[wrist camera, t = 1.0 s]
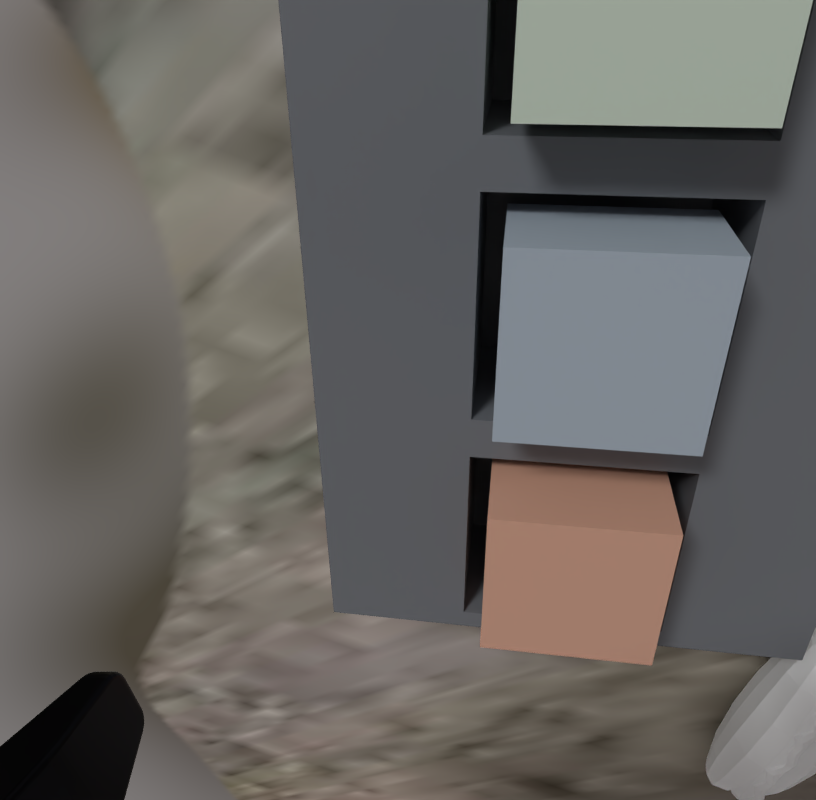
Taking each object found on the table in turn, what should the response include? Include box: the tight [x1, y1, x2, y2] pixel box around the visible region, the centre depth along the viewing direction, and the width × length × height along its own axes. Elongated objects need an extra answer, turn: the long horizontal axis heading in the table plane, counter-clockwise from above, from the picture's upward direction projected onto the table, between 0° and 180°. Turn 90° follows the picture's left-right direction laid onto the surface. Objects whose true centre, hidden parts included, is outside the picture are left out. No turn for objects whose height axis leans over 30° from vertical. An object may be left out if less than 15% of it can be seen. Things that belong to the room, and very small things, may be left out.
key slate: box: [492, 203, 751, 457], centre depth 14 cm, size 4×4×2 cm
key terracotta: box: [480, 458, 683, 665], centre depth 18 cm, size 4×4×2 cm
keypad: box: [279, 0, 816, 660], centre depth 15 cm, size 12×24×4 cm, turn 0°
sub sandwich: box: [706, 627, 816, 800], centre depth 24 cm, size 3×8×3 cm, turn 167°
